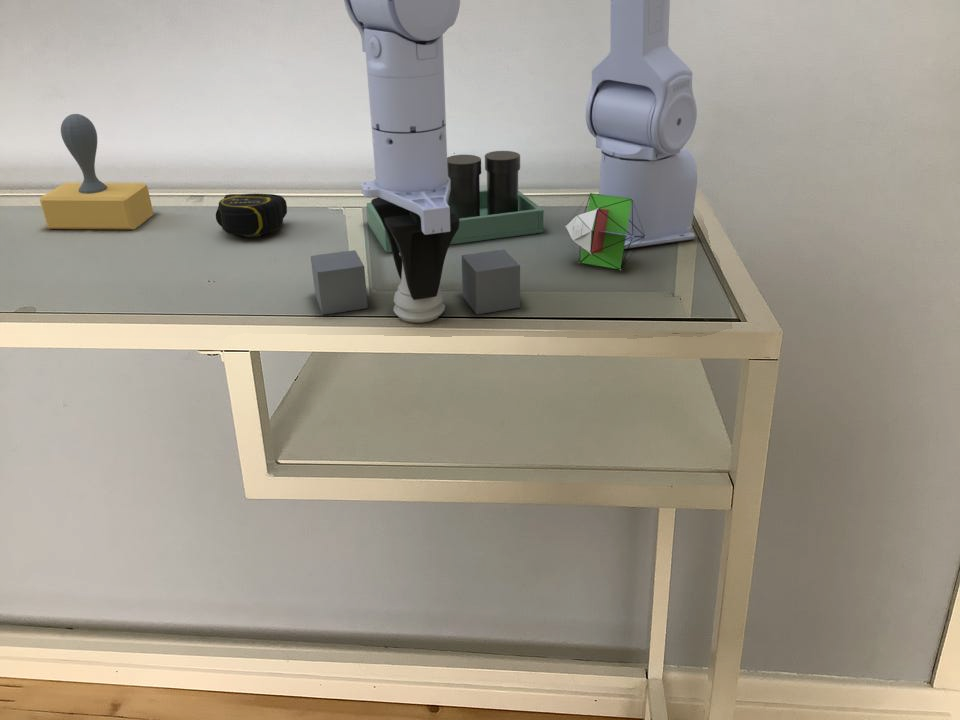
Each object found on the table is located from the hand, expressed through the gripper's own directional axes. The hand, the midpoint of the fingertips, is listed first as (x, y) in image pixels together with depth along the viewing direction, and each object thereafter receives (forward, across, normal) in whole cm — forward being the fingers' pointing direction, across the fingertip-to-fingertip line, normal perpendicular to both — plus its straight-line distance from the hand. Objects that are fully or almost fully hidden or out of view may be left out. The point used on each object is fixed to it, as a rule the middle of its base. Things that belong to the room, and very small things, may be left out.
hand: (418, 287), depth 69 cm
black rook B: (+2, -20, +10) cm, 22 cm away
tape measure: (+3, -27, -12) cm, 30 cm away
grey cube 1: (+2, -4, -6) cm, 8 cm away
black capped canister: (+2, -20, +15) cm, 24 cm away
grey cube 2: (+2, 0, +6) cm, 7 cm away
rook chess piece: (+3, 0, 0) cm, 3 cm away
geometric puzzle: (+2, -5, +20) cm, 21 cm away
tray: (+2, -20, +9) cm, 22 cm away
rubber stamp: (+3, -36, -28) cm, 46 cm away
